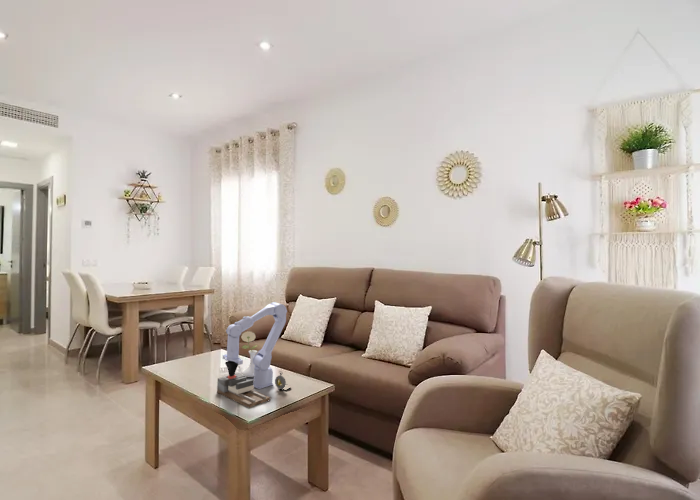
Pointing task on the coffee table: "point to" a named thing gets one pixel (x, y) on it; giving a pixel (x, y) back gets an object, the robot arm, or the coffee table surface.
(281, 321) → the robot arm
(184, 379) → the coffee table surface
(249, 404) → the rail board
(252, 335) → the flower in vase
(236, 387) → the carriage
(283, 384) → the pocket watch
